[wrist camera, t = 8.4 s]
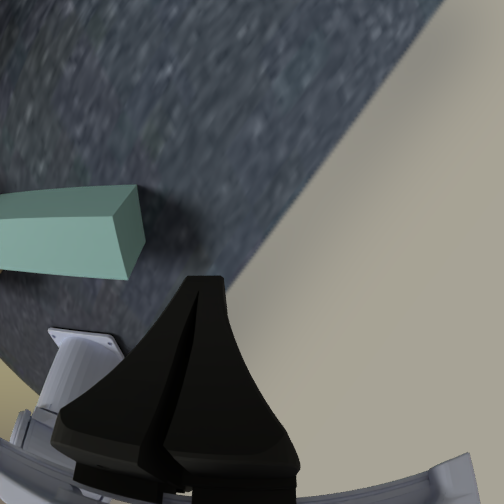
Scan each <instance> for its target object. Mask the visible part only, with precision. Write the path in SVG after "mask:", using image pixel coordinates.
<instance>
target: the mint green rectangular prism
mask: <svg viewBox="0 0 504 504" xmlns="http://www.w3.org/2000/svg"><path fill="white" fill-rule="evenodd" d="M145 242H146V240H145V234H144V229H143V223H142V217H141V211H140V204H139V197H138V190H137V185H110V186H90V187H74V188H60V189H47V190H36V191H26V192H16V193H7V194H1V195H0V269H4V270H13V271H23V272H33V273H43V274H54V275H66V276H78V277H91V278H104V279H119V280H128V279H129V277H130V275H131V272H132V270H133V268H134V266H135V264H136V261H137V259H138V257H139V255H140V253H141V251H142V249H143V246H144V244H145Z"/></svg>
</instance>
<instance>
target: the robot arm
mask: <svg viewBox="0 0 504 504" xmlns="http://www.w3.org/2000/svg"><path fill="white" fill-rule="evenodd" d="M48 332H49V334H50V335H51V337H52V338H53V340H54V341H55V343H56V344H57V345H58V347H59V350H58V352H57V355H56V357H55V359H54V362H53V364H52V366H51V369H50V371H49V374H48V376H47V379H46V381H45V384H44V386H43V389H42V392H41V394H40V397H39V400H38V403H37V405H36V407H35V409H34V411H33V414H32V416H30V415H31V412H30V411H29V410H27V409H26V410H25V411H21V412H19V415H18V417H17V420H16V423H15V426H14V429H13V432H12V435H11V438H10V442H8V441H6V440H4V439H2V438H0V499H2V500H3V501H4V502H5V503H7V504H110V502H111V500H112V499H115V500H119V501H123V502H127V503H131V504H480V499H479V493H478V488H477V483H476V478H475V474H474V469H473V465H472V461H471V457H470V453H468V452H467V453H465V454H462V455H460V456H458V457H455V458H453V459H450V460H448V461H445V462H443V463H440V464H438V465H436V466H434V467H432V468H430V469H429V470H428V471H425V472H422V473H419V474H416V475H413V476H409V477H406V478H403V479H400V480H396V481H392V482H388V483H384V484H380V485H376V486H371V487H367V488H362V489H357V490H352V491H346V492H341V493H334V494H327V495H320V496H311V497H301V498H296V487H297V483H296V475H297V473H298V472H299V470H300V461H299V458H298V455H297V453H296V450H295V448H294V446H293V444H292V442H291V440H290V438H289V436H288V434H287V432H286V430H285V428H284V427H283V426H282V425H281V423H280V422H279V420H278V419H277V417H276V416H275V414H274V413H273V412H272V410H271V409H270V407H269V405H268V404H267V402H266V401H265V399H264V398H263V396H262V394H261V393H260V391H259V389H258V387H257V385H256V384H255V382H254V380H253V378H252V376H251V375H250V373H249V370H248V368H247V366H246V364H245V362H244V360H243V358H242V356H241V353H240V351H239V348H238V346H237V343H236V341H235V338H234V335H233V332H232V329H231V326H230V323H229V319H228V315H227V304H226V295H225V286H224V278H223V277H222V276H187V277H186V278H185V279H184V281H183V283H182V284H181V286H180V287H179V289H178V291H177V292H176V294H175V295H174V297H173V298H172V300H171V301H170V303H169V304H168V306H167V307H166V308H165V310H164V311H163V313H162V314H161V315H160V317H159V318H158V320H157V321H156V322H155V323H154V325H153V326H152V327H151V328H150V330H149V331H148V332H147V334H146V335H145V336H144V337H143V338H142V340H141V341H140V342H139V343H138V344H137V345H136V347H135V348H134V349H133V350H132V351H131V352H130V353H129V354H128V355H127V356H126V357H124V355H123V354H122V352H121V350H120V348H119V346H118V345H117V343H116V341H115V339H114V338H113V336H111V335H109V334H100V333H90V332H81V331H73V330H65V329H58V328H49V330H48ZM190 491H192V496H183V495H176V492H178V493H185V492H190Z"/></svg>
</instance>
